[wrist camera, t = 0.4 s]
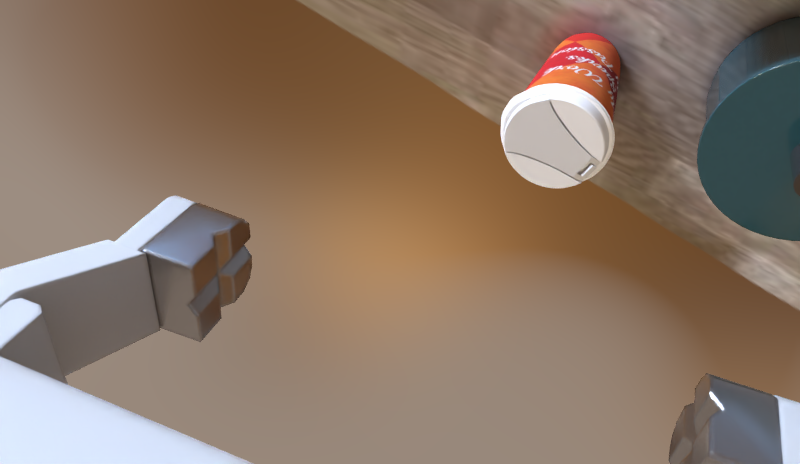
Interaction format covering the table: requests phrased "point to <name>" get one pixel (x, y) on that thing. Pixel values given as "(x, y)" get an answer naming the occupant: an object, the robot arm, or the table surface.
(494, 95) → the table surface
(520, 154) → the paper cup
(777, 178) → the pot lid
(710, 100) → the pot
